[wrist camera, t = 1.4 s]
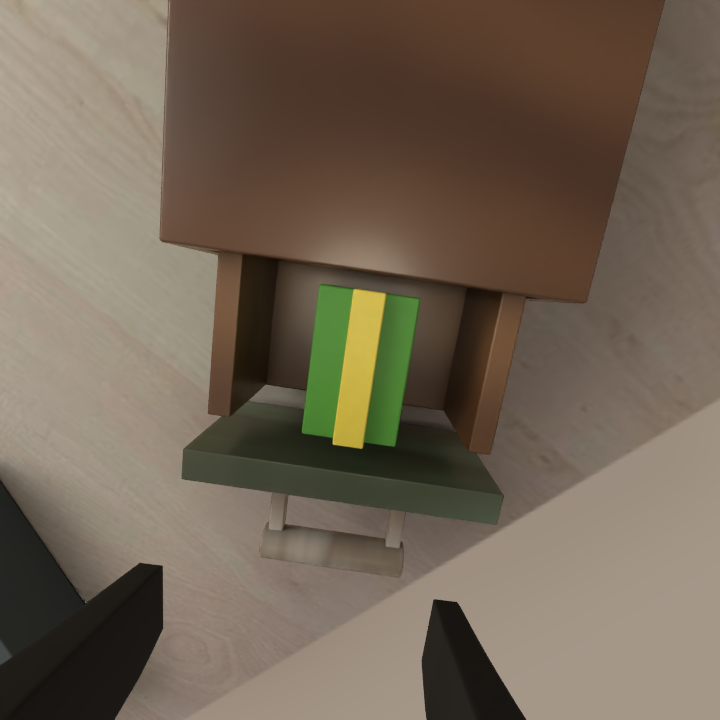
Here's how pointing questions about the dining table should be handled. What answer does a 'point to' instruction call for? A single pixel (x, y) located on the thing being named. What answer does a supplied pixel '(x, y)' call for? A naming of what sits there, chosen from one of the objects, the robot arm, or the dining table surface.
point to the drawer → (317, 453)
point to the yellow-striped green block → (359, 365)
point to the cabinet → (404, 134)
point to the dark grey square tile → (28, 584)
